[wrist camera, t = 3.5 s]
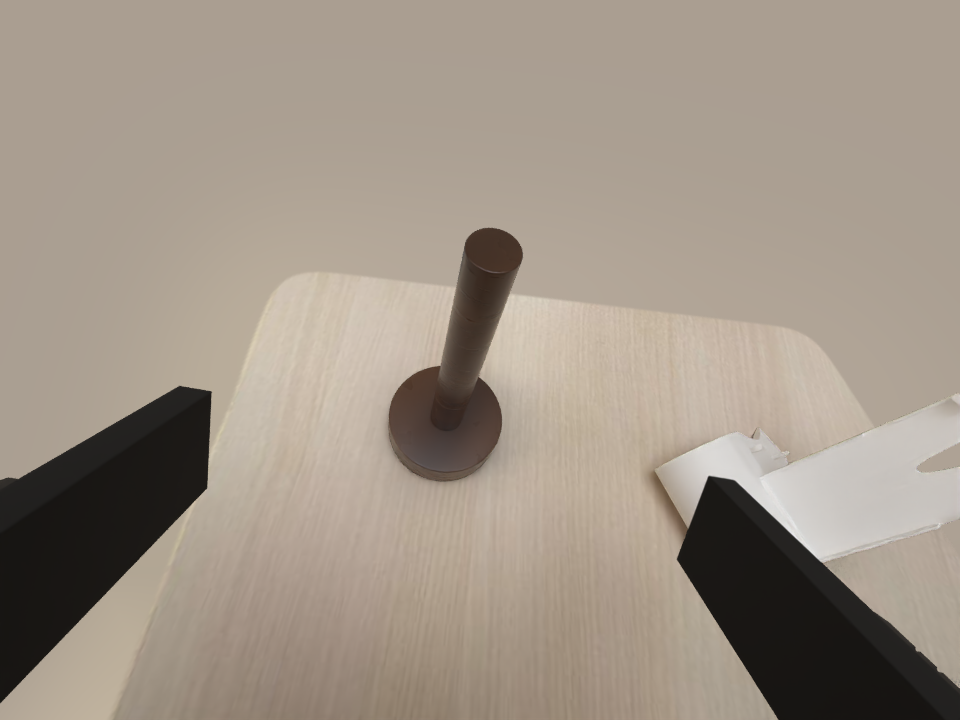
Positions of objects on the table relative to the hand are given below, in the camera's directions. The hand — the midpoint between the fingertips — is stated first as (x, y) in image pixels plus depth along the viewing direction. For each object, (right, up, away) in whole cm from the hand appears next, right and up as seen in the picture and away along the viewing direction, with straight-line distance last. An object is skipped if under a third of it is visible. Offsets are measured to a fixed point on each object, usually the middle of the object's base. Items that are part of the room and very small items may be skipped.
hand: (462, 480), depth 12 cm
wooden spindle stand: (-2, -1, +16) cm, 16 cm away
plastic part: (+16, -6, +17) cm, 24 cm away
